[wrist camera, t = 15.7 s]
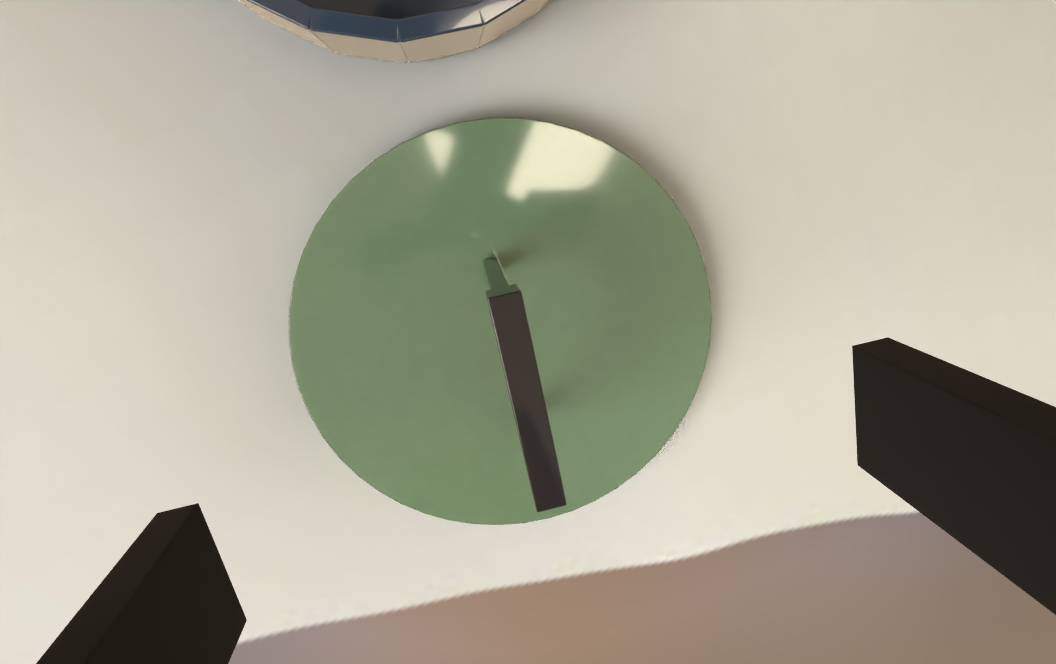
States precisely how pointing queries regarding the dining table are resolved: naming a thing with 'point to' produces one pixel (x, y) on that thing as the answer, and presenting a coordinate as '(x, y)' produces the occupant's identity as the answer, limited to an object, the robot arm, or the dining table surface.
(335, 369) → the cover
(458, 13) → the bowl
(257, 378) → the dining table surface
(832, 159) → the dining table surface
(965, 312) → the dining table surface
